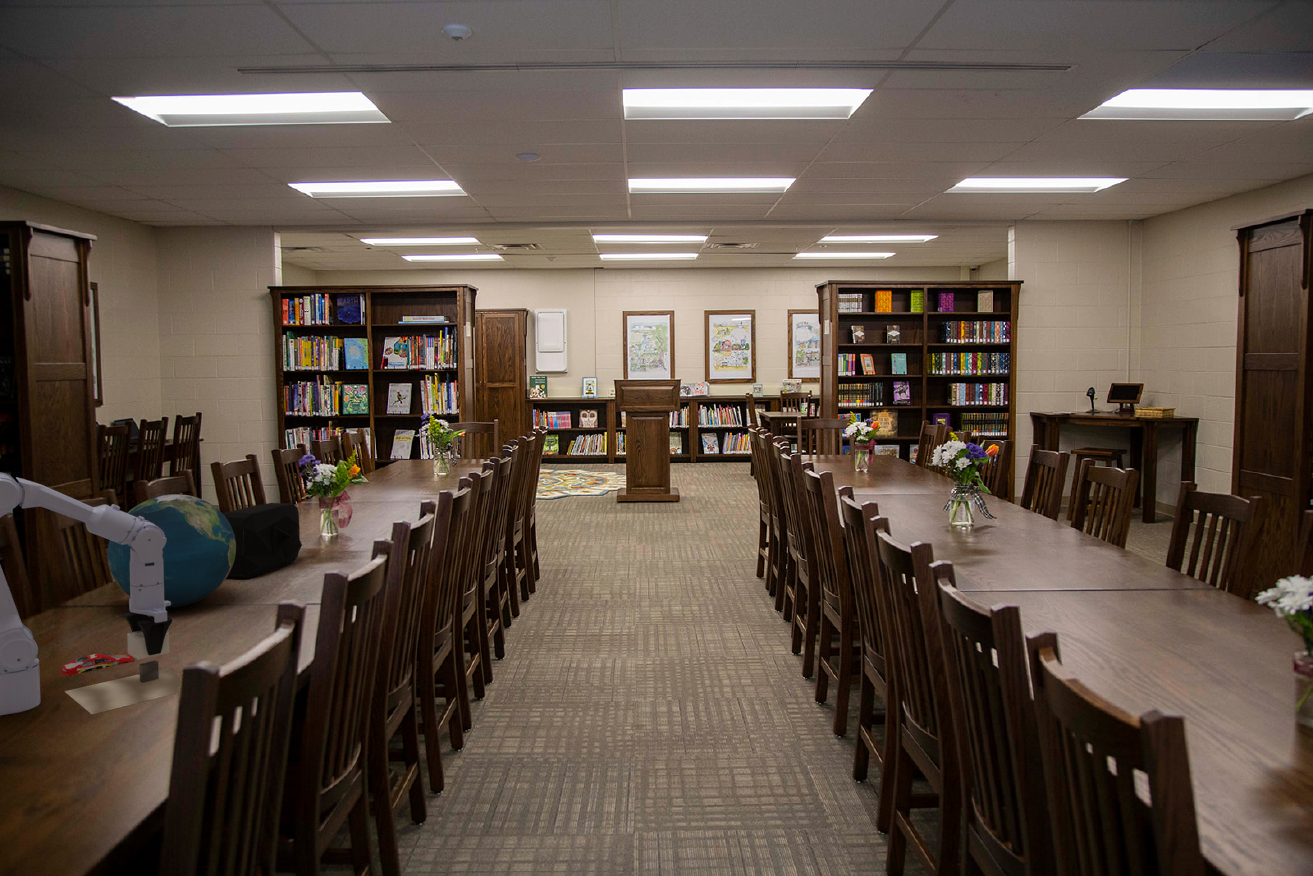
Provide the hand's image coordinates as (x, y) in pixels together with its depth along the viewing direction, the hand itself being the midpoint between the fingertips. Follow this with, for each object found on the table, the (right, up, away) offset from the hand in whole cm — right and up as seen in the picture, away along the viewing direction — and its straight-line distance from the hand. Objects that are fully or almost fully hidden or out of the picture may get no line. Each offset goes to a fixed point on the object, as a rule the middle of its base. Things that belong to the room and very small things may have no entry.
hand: (148, 650), depth 167 cm
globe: (-28, -3, +58) cm, 65 cm away
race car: (-15, -7, +8) cm, 19 cm away
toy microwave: (0, -1, 0) cm, 0 cm away
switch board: (0, -8, -4) cm, 9 cm away
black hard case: (-24, 0, +101) cm, 103 cm away
